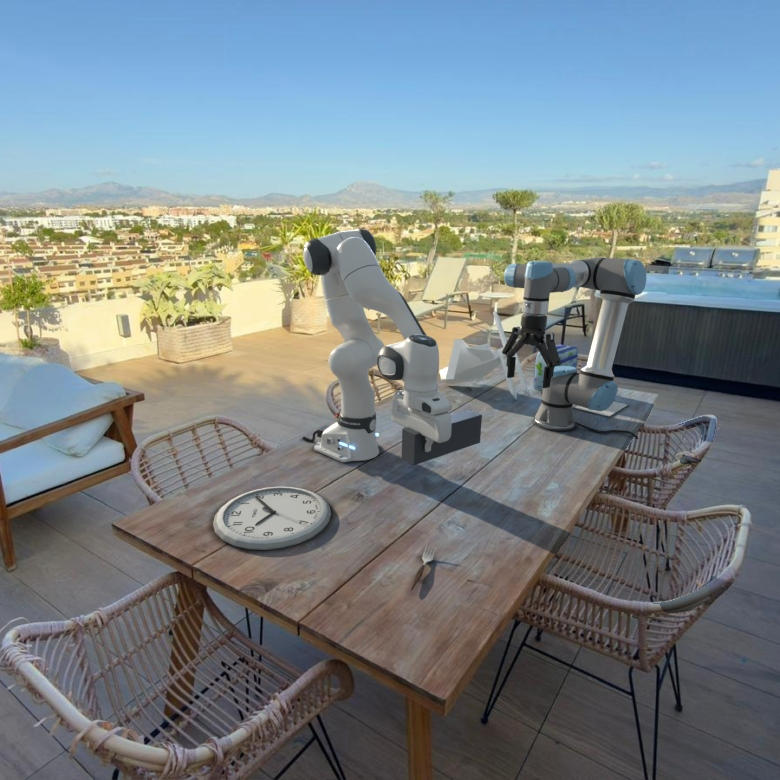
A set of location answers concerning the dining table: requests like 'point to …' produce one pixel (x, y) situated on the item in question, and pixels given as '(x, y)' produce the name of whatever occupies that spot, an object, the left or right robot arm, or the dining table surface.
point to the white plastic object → (479, 362)
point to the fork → (426, 559)
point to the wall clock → (272, 518)
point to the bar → (462, 436)
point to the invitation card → (609, 411)
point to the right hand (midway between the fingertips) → (527, 382)
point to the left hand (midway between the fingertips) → (418, 446)
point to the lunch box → (566, 358)
